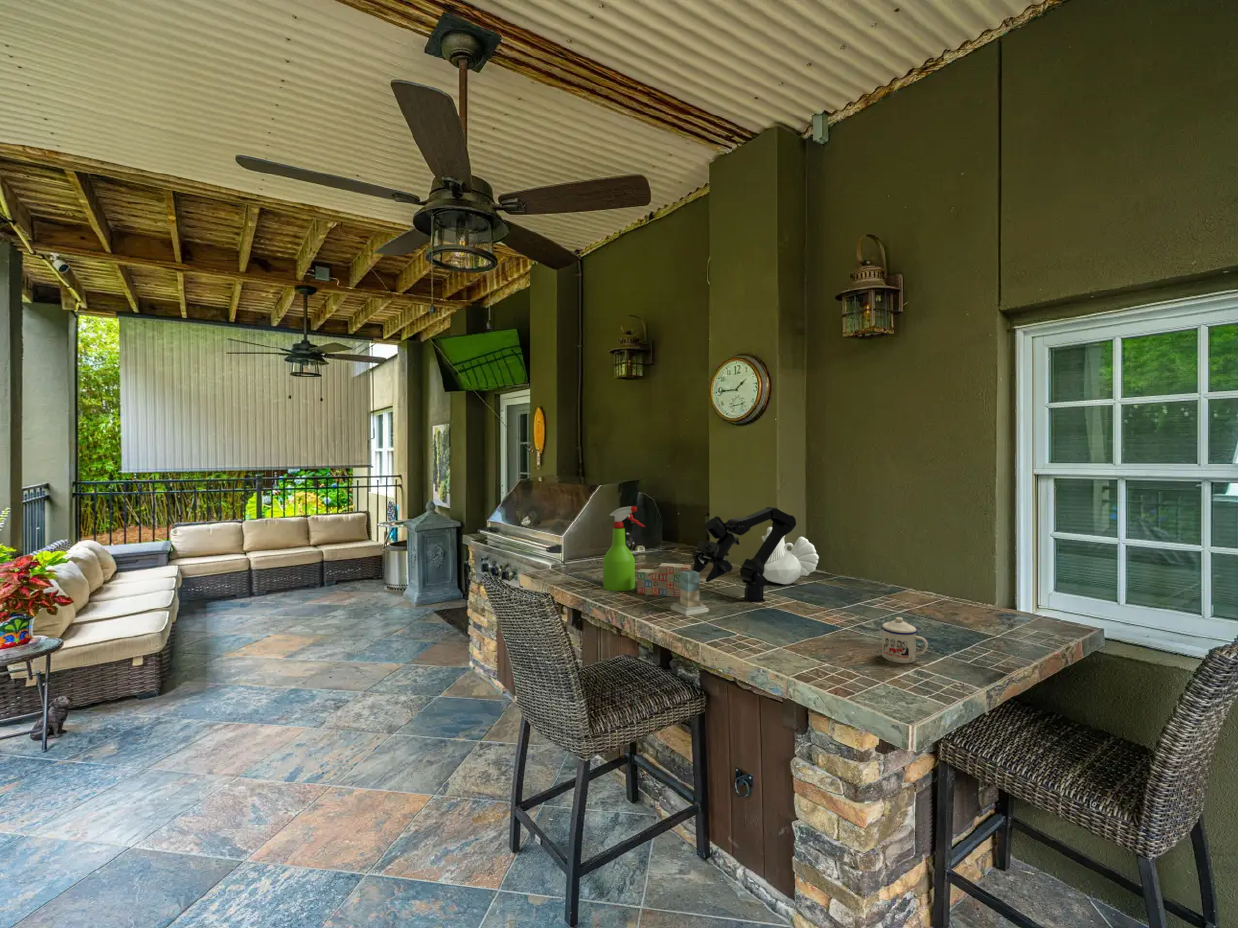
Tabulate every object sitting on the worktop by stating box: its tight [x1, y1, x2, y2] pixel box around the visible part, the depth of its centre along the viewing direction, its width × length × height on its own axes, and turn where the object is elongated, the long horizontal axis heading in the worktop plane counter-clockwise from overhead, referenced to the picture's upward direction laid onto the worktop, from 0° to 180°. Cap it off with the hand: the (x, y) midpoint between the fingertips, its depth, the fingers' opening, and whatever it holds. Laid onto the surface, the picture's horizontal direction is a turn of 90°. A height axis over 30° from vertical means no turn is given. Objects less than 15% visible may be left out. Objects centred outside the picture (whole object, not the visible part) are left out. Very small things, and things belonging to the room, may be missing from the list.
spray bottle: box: [602, 505, 646, 592], centre depth 257 cm, size 14×18×35 cm
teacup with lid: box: [881, 616, 929, 664], centre depth 171 cm, size 12×9×12 cm
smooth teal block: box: [679, 569, 700, 608], centre depth 222 cm, size 5×5×13 cm
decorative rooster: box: [761, 526, 820, 585], centre depth 263 cm, size 25×16×25 cm, turn 44°
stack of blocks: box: [636, 562, 692, 598], centre depth 246 cm, size 21×6×12 cm, turn 74°
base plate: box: [670, 601, 710, 616], centre depth 222 cm, size 10×10×2 cm
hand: (699, 579), depth 223 cm, fingers open, 9 cm apart
